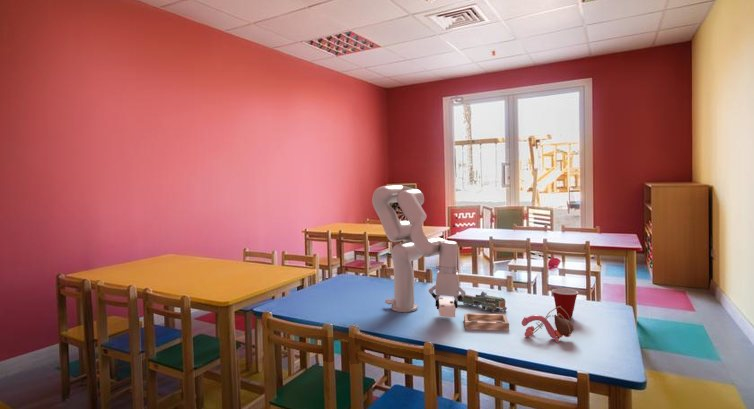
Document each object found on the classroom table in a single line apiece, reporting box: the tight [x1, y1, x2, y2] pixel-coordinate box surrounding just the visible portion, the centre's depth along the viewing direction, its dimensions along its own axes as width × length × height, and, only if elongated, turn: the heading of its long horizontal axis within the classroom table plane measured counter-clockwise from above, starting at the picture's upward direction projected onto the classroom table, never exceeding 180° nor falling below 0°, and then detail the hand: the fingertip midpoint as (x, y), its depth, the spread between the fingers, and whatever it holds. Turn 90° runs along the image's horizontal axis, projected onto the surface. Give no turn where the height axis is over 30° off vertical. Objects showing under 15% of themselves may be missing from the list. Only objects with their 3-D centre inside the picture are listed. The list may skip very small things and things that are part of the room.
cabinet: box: [463, 312, 510, 331], centre depth 180 cm, size 17×11×3 cm, turn 81°
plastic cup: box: [551, 288, 579, 320], centre depth 187 cm, size 11×11×12 cm
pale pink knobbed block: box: [437, 296, 457, 318], centre depth 188 cm, size 13×6×4 cm, turn 176°
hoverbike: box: [457, 291, 508, 313], centre depth 202 cm, size 10×25×8 cm, turn 56°
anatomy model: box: [521, 306, 575, 344], centre depth 164 cm, size 11×15×17 cm
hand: (446, 308), depth 188 cm, fingers closed on pale pink knobbed block, 6 cm apart
